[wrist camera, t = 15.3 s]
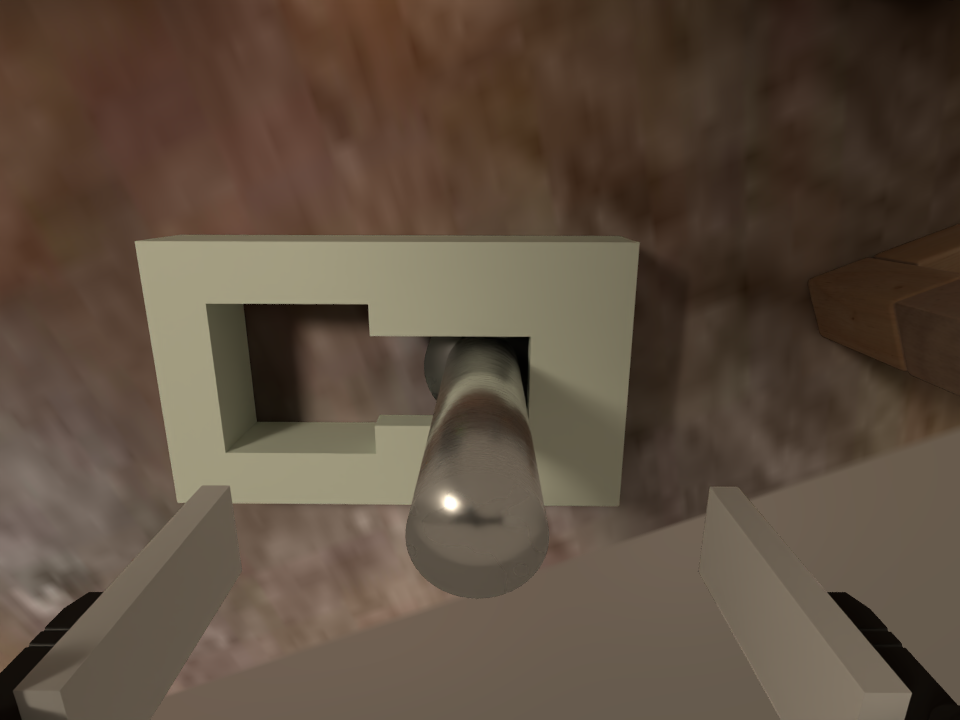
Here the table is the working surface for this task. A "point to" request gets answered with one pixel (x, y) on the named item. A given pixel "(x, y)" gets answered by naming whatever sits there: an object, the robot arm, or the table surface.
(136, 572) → the robot arm
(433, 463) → the headed peg
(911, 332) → the brown multi-part fixture
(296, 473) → the keyhole plate
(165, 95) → the table surface
